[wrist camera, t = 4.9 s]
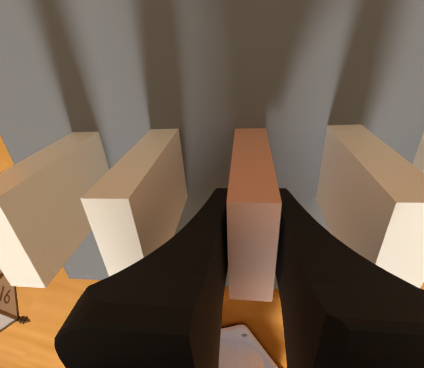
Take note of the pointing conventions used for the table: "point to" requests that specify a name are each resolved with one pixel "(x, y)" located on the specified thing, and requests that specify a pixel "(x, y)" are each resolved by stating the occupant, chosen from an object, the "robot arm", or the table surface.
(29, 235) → the domino
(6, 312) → the game die
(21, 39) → the felt mat
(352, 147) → the domino
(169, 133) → the domino
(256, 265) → the domino
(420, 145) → the domino
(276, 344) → the table surface
